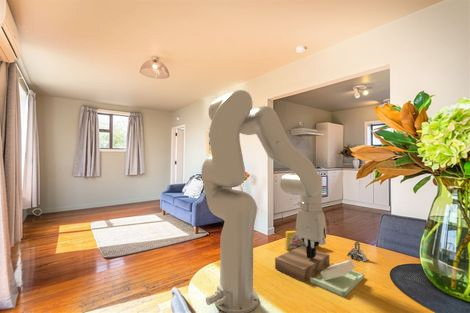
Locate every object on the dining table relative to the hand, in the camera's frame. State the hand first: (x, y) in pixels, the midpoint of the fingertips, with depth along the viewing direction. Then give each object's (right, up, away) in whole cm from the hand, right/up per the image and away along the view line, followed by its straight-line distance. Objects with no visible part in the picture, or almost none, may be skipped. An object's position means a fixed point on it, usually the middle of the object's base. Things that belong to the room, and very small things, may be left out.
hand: (311, 257), depth 83 cm
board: (-2, -5, +2) cm, 6 cm away
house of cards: (+20, -6, +9) cm, 23 cm away
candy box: (+3, -6, +21) cm, 21 cm away
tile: (+6, 0, -7) cm, 9 cm away
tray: (+6, -5, -7) cm, 11 cm away
